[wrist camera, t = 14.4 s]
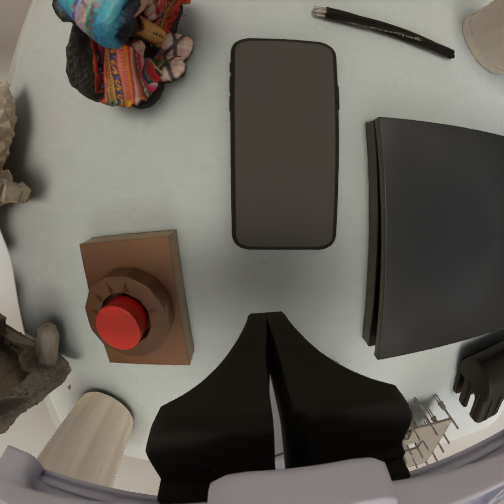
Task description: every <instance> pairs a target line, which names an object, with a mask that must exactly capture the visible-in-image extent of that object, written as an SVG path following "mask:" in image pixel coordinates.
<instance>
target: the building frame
mask: <svg viewBox="0 0 504 504" xmlns="http://www.w3.org/2000/svg"><path fill="white" fill-rule="evenodd" d="M433 396H434V395H433ZM436 396H437V395H436ZM434 397H435V396H434ZM437 398H438V396H437ZM415 399H416V397H415ZM435 399H436V397H435ZM438 399H439V398H438ZM436 400H437V399H436ZM414 401H415V400H414ZM416 401H417V402H418V400H417V399H416ZM416 401H415V403H416ZM439 401H440V399H439ZM437 402H438V400H437ZM416 404H417V403H416ZM418 404H419V402H418ZM418 404H417V406H418ZM419 405H420V404H419ZM438 405H439V406H440V407H441V408H442V410H445V412H446V413H447V415H448V416H449V417H450V418H447V419H444V420H440V421H437V419H436V416H434V415H433V414H432V412H431V411H430V409H429V411H430V412H431V414H432V415H433V417H431V415H430V413H429V412H428V410H427V412H428V413H429V415H430V417H431V420H432V421H433V423H431V422H430V421H429V419H428V418H427V416H426V414H425V410H424V409H423V406H422V405H420V406H418V410H419V411H420V412H421V414H422V415H423V414H424V416H425V418H426V419H427V420H426V419H425V418H424V419H425V420H426V422H427V421H428V422H429V424H426V423H425V421H424V420H423V418H422V420H423V421H424V423H425V425H421V426H417V425H416V423H415V421H413V419H412V421H411V424H410V425H411V427H412V430H411V429H408V431H407V434H408V435H409V436H408V438H406V437H404V440H403V442H402V445H403V448H404V449H405V455H404V457H403V459H404V461H405V463H406V466H407V468H408V467H412V466H416V468H417V465H419V464H422V463H425V462H426V464H427V465H428V463H427V460H428V459H429V457H430V456H431V454H433V456H434V457H435V455H434V453H433V451H434V449H435V448H436V446H437V445H439V446H440V448H441V450H442V452H444V451H443V449H442V447H441V445H440V444H439V441H440V440H441V438H442V436H444V437H445V439H446V440H447V442H448V444H449V443H450V442H449V441H448V439H447V437H446V436H445V434H444V433H445V431H446V430H447V428H448V426H449V424H450V423H451V421H452V422H453V423H454V425H455V426H456V428H457V429H459V428H458V426H457V425H456V423H455V422H454V420H453V419H452V418H451V416H450V415H449V413H448V412H447V410H446V409H445V408H446V406H445V405H444V404H443V401H442V402H441V401H440V402H438ZM428 422H427V423H428ZM416 442H417V444H418V442H420V443H419V444H418V445H417V444H416ZM412 443H414V444H415V446H416V447H414V448H410V449H409V447H408V445H409V444H412ZM406 447H407V449H406ZM435 459H436V461H437V458H436V457H435Z"/></svg>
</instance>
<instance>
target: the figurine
mask: <svg viewBox="0 0 504 504" xmlns="http://www.w3.org/2000/svg"><path fill="white" fill-rule="evenodd" d="M190 3H191V0H53V3H52V6H53V9H54V11H55V13H56V15H57V16H58V17H59V18H60V19H61V20H62V22H71V23H73V26H72V30H71V34H70V38H69V43H68V45H67V47H66V56H67V65H66V73H67V75H68V78H69V81H70V84H71V86H72V87H74V88H76V89H77V90H78V91H79V92H80V93H81V94H82V95H84V96H85V97H87V98H88V99H91V100H93V101H96V102H101V103H103V104H106V105H109V106H116V105H117V106H121V107H125V106H126V107H128V108H130V106H132V107H135V108H139V109H143V108H147V107H150V106H152V105H153V104H155V103H156V101H157V100H158V99H159V98H160V95H161V93H162V90H163V88H164V84H165V83H171V82H173V81H175V80H177V79H179V78H181V77H183V76H184V74H185V71H186V67H187V66H186V64H185V63H184V62H185V61H186V60H187V58H188V57H189V56H190V55H191V53H192V51H193V46H194V44H193V41H192V39H191V38H190V36H184V35H183V34H176V31H177V27H178V24H179V21H180V18H181V16H182V14H183V5H182V4H190ZM184 16H185V15H184Z"/></svg>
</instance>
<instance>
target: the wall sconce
mask: <svg viewBox="0 0 504 504" xmlns="http://www.w3.org/2000/svg"><path fill="white" fill-rule="evenodd" d="M9 86H10V83H8V82H7V81H4V82H2V83H0V206H1V205H4V204H6V203H9V202H12V203H25V202H27V201H28V199H29V196H30V193H31V189H30V188H29V187H28V186H27V185H26V184H25V183H24V182H21V183H19V184H18V183H15V182H13V176H12V175H11V173H10V171H9V169H6V170H2V167H3V165H4V164H5V162H6V161H5V160H6V158H7V157H8V156H9V154H10V153H9V147H10V145H11V143H12V142H13V140H12V138H13V137H14V136H15V132H14V126H15V124H16V121H17V119H18V118H17V116H16V115H15V103H14V102H13V100H12V99H13V97H12V94H11V92H10V90H9V89H8V87H9ZM11 207H12V205H11ZM59 337H60V335H59V333H58V330H57V327H56V326H55V325H54V324H52V323H50V322H44V323H42V324H41V325H40V326H39V327H38V328H37V330H36V337H35V340H33V339H31V338H29V337H27V336H25V335H23V334H22V333H21V332H18V331H16V330H15V329H13V328H12V327H10V326H9V325H7V324H6V317H5V316H3V315H2V314H0V434H2V433H5V432H6V431H7V430H8V429H9V426H11V425H12V424H13V423H14V422H15V420H16V418H17V417H18V416H19V415H20V414H21V413H24V412H26V411H27V409H29V408H31V407H33V406H34V405H37V404H38V403H39V402H41V401H42V400H43V399H44V398H45V397H46V396H47V395H48V394H49V393H51V392H52V391H53V390H54V389H56V388H57V387H58V386H60V385H61V384H62V383H63V382H64V381H65V380H66V378H67V375H68V374H69V373H70V372H71V370H72V369H71V368H70V366H69V363H68V362H67V360H66V359H65V358H64V357H63V356H62V355H61V354H59V353H58V347H59ZM67 388H68V389H71V385H69V386H68V387H67Z"/></svg>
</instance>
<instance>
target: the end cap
mask: <svg viewBox="0 0 504 504" xmlns="http://www.w3.org/2000/svg"><path fill="white" fill-rule="evenodd" d="M453 390H454V392H455V393H456V394H457V393H460V392H461V394H460V397H459V401H460V403H461V405H463V407H466V406H467V404H468V401H469V398H470V395H471V394H473V393H474V395H475V400H474V403H473V406H472V409H471V411H470V414H469V415H470V417H471V418H472V419H473V420H474V421H475V422H477V423H480V422H482V421H484V420H487V419H488V418H489V417H491V416H493V415H495V414H496V413H497V412H498V410H499V407H500V405H501V403H502V401H503V399H504V340H503V341H501V342H499V343H497V344H495V345H493V346H491V347H489V348H487V349H485V350H483V351H481V352H478V353H476V354H474V355H472V356H469V357H467V358H465V359H464V360H463V361H461V363H460V365H459V367H458V372H457V376H456V380H455V384H454V388H453Z"/></svg>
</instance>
